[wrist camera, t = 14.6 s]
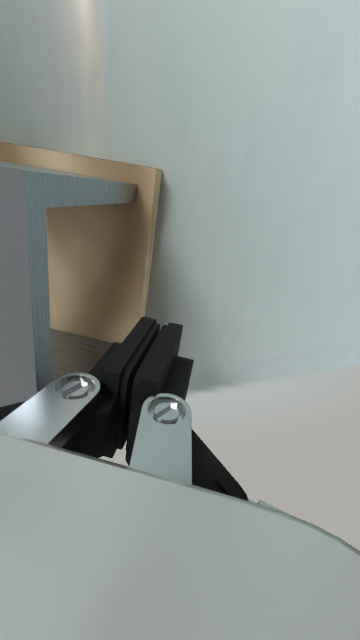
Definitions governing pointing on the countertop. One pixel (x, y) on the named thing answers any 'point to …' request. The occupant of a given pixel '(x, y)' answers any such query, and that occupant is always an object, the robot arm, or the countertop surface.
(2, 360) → the cover
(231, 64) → the countertop surface
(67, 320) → the board
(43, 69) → the countertop surface
